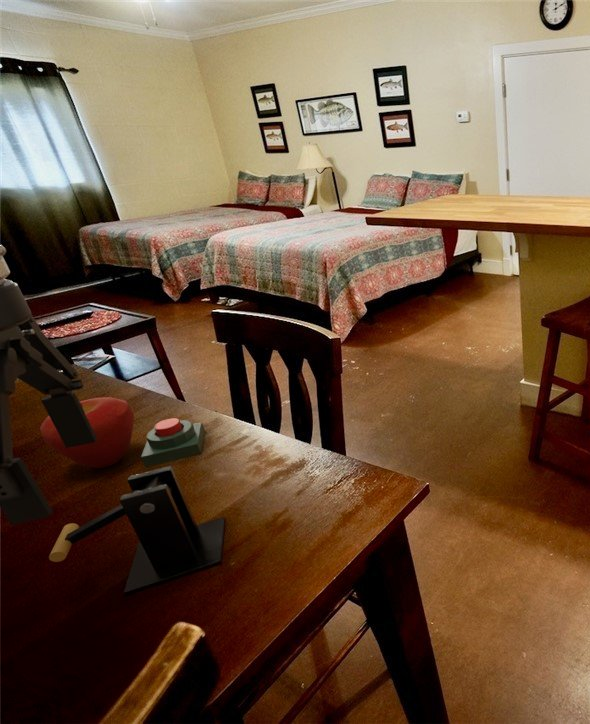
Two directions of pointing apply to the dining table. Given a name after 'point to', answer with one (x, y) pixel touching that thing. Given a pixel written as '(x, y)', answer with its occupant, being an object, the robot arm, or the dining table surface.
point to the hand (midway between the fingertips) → (60, 477)
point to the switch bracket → (168, 533)
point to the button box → (174, 444)
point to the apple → (97, 433)
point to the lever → (92, 525)
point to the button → (168, 427)
